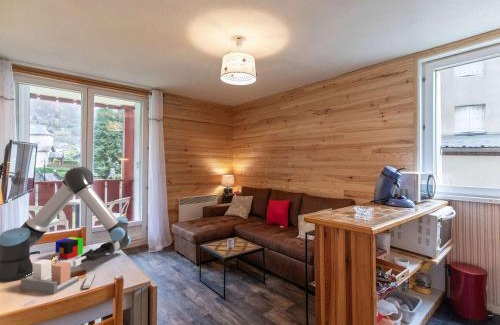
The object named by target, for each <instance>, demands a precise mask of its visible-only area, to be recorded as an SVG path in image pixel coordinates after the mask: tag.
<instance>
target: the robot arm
mask: <svg viewBox="0 0 500 325" xmlns="http://www.w3.org/2000/svg"><path fill="white" fill-rule="evenodd" d="M63 177H64V179H63V180H62V181H61V183H62V185H61V186H60V187H59V189H58V190H56V192H55V193H54V194H53V195H52V196H51V197H50V199H49V200H48V201H47V202H46V203H44V205H43V206H42V207H41V208H40V210H39V211H37V213H36V214H35V215H34V216H33V217H32V218H29V219H27V220H25V221H24V223H23V224H22V225H21V226H20V227H15V228H10V229H7V230H5V231H3V232H1V233H0V283H9V282H14V281H19V280H21V279H22V278H24V277H25V276H26V275H28V274H30V273H32V272H33V262H32V261H31V256H30V254H31V250H30V249H31V248H32V247H33V246H34V245H36V244H37V243H39V242H40V241H42V239H43V237H44V235H45V234H46V233H47V232H48V230H49V225H50V224H51V223H52V222H53V221H54V220H55V218H56V217H57V216H58V215H59V214H60V213H61V212H62V211H63V209H64V208H65V207H66V206H67V205H68V204H69V203H70V201H71V200H72V199H73V198H74V197H75V196H78V197H79V198H80V200H81V201H83V203H84V205H85V206H86V207H87V208H88V209H89V210H90V211H91V213H92V214H93V215H94V216H95V218H96V219H97V220H98V221H99V223H100V224H101V225H102V226H103V227H104V229H105V230H106V231H107V233H108V234H109V237H110V239H111V240H108V241H107V242H105V243H102V244H101V245H100V246H99V247H97V248H95V249H92V248H91V249H89V250H87V251H86V252H83V254H81V255H80V257H78V258H77V259H75V260H73V264H72V266H73V267H77V266H79V265H82V264H84V263H86V262H94V261H97V260H100V259H102V258H105V257H109V256H110V255H113V254H115V253H116V252H119V251H122V250H123V249H125V248H127V247H128V246H130V245H131V242H132V239H131V237H130V235H129V234H128V229H129V228H128V227H129V226H128V223H129V222H128V221H129V220H128V218H127V217H118V218H117V217H116V216H115V215H114V214H113V213H112V211H111V210H110V209H109V207H108V206H107V205H106V204H105V202H104V201H103V200H102V198H101V197H100V196H99V194H98V193H97V192H96V191H95V190H94V189H93V184H92V182H93V180H94V173H93V171H92V170H91V169H90V168H89V167H85V166H79V167H77V166H76V167H73V168H70V169H68V170H67V171H66V173H65V174H64V176H63ZM32 274H33V273H32ZM25 278H26V277H25Z"/></svg>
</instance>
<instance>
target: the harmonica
mask: <svg viewBox="0 0 500 325" xmlns="http://www.w3.org/2000/svg"><path fill="white" fill-rule="evenodd" d="M95 277H96V274H89V275H87V277H86V279H85V280H84V283H83V286H82V287H81V291H86V290H90V288H91V286H92V284H93V282H94V279H95Z"/></svg>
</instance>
